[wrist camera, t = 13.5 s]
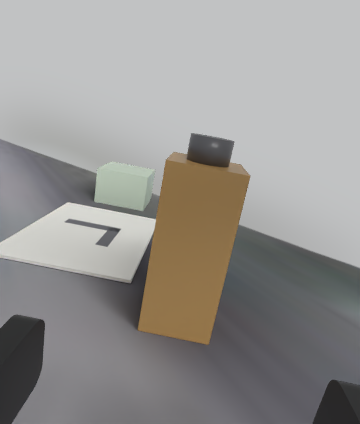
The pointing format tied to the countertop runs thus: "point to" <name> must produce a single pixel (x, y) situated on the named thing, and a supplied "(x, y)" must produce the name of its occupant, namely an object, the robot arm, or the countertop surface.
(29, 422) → the countertop surface
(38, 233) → the letter
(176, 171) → the reagent bottle
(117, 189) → the sage block
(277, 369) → the countertop surface
